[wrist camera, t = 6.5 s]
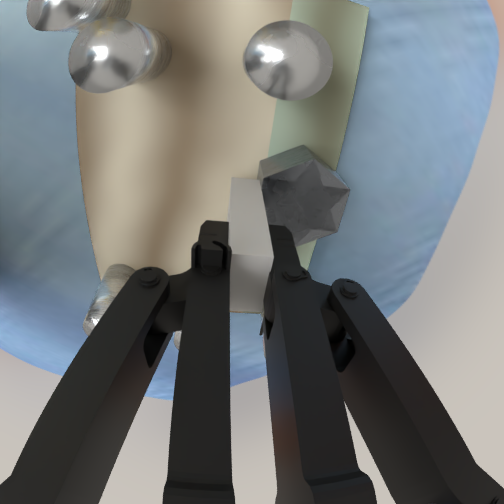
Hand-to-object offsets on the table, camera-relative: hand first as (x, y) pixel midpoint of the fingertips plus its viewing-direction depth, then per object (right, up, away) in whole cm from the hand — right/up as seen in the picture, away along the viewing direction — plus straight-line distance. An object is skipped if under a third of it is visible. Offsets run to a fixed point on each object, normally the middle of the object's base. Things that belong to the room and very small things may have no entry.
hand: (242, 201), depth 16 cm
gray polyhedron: (+3, +1, +1) cm, 3 cm away
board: (-2, +2, +1) cm, 4 cm away
